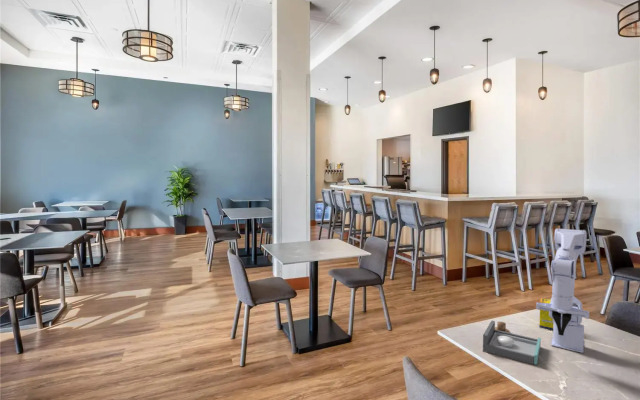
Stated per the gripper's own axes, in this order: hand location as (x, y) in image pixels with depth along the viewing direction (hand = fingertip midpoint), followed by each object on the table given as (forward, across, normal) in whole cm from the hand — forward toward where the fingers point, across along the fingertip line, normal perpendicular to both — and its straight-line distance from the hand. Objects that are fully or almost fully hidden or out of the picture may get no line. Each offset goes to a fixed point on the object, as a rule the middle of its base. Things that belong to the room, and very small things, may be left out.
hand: (561, 334), depth 116 cm
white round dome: (+8, -17, 0) cm, 19 cm away
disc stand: (+9, -20, +14) cm, 26 cm away
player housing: (+9, -15, 0) cm, 18 cm away
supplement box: (+10, -5, +31) cm, 33 cm away
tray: (+9, -13, 0) cm, 16 cm away
